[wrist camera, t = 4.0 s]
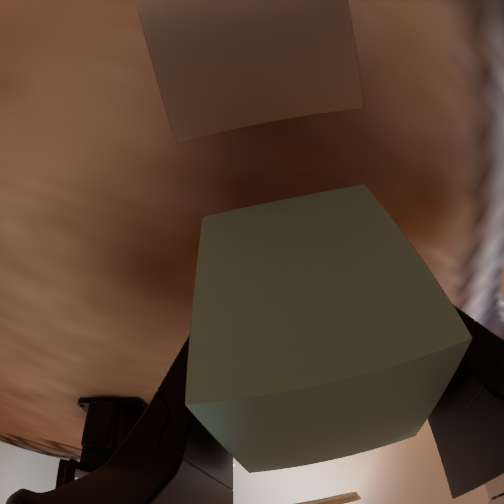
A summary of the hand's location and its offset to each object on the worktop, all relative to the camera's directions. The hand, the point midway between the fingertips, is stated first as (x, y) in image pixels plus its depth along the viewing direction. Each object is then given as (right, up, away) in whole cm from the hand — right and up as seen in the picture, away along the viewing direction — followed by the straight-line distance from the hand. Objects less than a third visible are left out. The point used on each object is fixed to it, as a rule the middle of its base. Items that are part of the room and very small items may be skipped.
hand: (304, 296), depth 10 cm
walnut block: (-2, +9, 0) cm, 9 cm away
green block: (0, +1, +1) cm, 2 cm away
